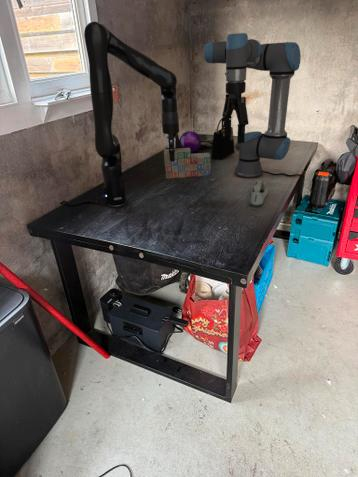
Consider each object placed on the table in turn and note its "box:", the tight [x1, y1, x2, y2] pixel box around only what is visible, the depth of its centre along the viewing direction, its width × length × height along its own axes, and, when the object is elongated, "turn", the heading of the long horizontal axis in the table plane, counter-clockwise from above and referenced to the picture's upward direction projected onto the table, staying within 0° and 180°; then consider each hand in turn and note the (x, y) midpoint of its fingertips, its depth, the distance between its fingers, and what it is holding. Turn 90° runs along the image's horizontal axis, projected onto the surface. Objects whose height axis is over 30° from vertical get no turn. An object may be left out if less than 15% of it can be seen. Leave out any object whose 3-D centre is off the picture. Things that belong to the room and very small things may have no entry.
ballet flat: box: [249, 179, 269, 207], centre depth 158 cm, size 8×24×8 cm, turn 163°
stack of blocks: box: [163, 148, 212, 179], centre depth 155 cm, size 21×6×12 cm, turn 91°
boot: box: [174, 132, 181, 149], centre depth 211 cm, size 9×24×20 cm, turn 168°
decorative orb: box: [179, 130, 202, 154], centre depth 230 cm, size 15×15×15 cm
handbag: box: [210, 116, 235, 160], centre depth 218 cm, size 21×9×25 cm, turn 148°
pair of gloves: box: [199, 134, 214, 149], centre depth 251 cm, size 30×26×5 cm
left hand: (172, 158), depth 154 cm, fingers closed on stack of blocks, 6 cm apart
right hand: (233, 139), depth 134 cm, fingers open, 13 cm apart
